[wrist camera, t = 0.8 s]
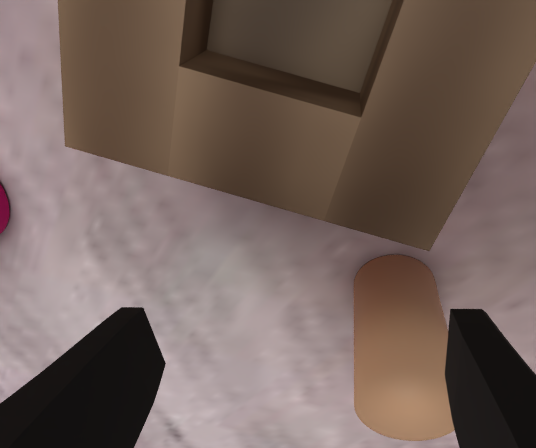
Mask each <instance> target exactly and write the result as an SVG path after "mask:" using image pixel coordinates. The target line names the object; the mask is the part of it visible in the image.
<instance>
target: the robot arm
mask: <svg viewBox="0 0 536 448" xmlns="http://www.w3.org/2000/svg"><path fill="white" fill-rule="evenodd" d="M165 364H166V363H165V361H164V358H163V356H162V353H161V351H160V348H159V346H158V343H157V341H156V338H155V336H154V333H153V331H152V328H151V326H150V323H149V321H148V318H147V316H146V313H145V311H144V308H134V307H122V308H120V309H119V310H117V311H116V312H115V313H113V314H112V315H111V316H110V317H108V318H107V319H106V320H105V321H103V322H102V323H101V324H100V325H98V326H97V327H96V328H95V329H93V330H92V331H91V332H90V333H89V334H87V335H86V336H85V337H84V338H83V339H81V340H80V341H79V342H78V343H77V344H75V345H74V346H73V347H72V348H70V349H69V350H68V351H67V352H66V353H64V354H63V355H62V356H61V357H59V358H58V359H57V360H56V361H55V362H53V363H52V364H51V365H50V366H48V367H47V368H46V369H45V370H43V371H42V372H41V373H40V374H38V375H37V376H36V377H34V378H33V379H32V380H31V381H29V382H28V383H27V384H25V385H24V386H23V387H21V388H20V389H19V390H18V391H16V392H15V393H14V394H12V395H11V396H10V397H8V398H7V399H6V400H4V401H3V402H2V403H1V404H0V448H134V446H135V444H136V442H137V439H138V437H139V435H140V433H141V431H142V428H143V426H144V424H145V422H146V419H147V417H148V415H149V413H150V410H151V408H152V406H153V403H154V400H155V397H156V394H157V391H158V388H159V385H160V381H161V378H162V374H163V371H164V368H165ZM445 380H446V386H447V392H448V399H449V404H450V410H451V416H452V422H453V425H454V429H455V433H456V436H457V440H458V444H459V447H460V448H536V374H535V373H534V372H533V371H532V370H531V369H530V367H529V366H528V365H527V364H526V363H525V361H524V360H523V359H522V358H521V357H520V355H519V354H518V353H517V352H516V350H515V349H514V348H513V347H512V346H511V344H510V343H509V342H508V340H507V339H506V338H505V337H504V335H503V334H502V333H501V332H500V330H499V329H498V328H497V326H496V325H495V324H494V322H493V321H492V320H491V318H490V317H489V316H488V314H487V313H486V312H485V311H483V310H482V309H450V320H449V331H448V342H447V353H446V364H445Z"/></svg>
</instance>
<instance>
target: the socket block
mask: <svg viewBox="0 0 536 448" xmlns="http://www.w3.org/2000/svg"><path fill="white" fill-rule="evenodd" d="M58 14H59V34H60V54H61V74H62V94H63V115H64V135H65V146H66V147H70V148H73V149H77V150H80V151H84V152H87V153H91V154H94V155H97V156H101V157H104V158H108V159H111V160H115V161H118V162H122V163H125V164H129V165H132V166H136V167H139V168H143V169H146V170H149V171H153V172H156V173H160V174H163V175H167V176H170V177H174V178H177V179H181V180H184V181H188V182H191V183H195V184H198V185H201V186H205V187H208V188H212V189H215V190H219V191H222V192H226V193H229V194H233V195H236V196H240V197H243V198H246V199H250V200H253V201H257V202H260V203H264V204H267V205H271V206H274V207H278V208H281V209H285V210H288V211H292V212H295V213H298V214H302V215H305V216H309V217H312V218H316V219H319V220H323V221H326V222H330V223H333V224H337V225H340V226H344V227H347V228H350V229H354V230H357V231H361V232H364V233H368V234H371V235H375V236H378V237H382V238H385V239H389V240H392V241H396V242H399V243H402V244H406V245H409V246H413V247H416V248H420V249H423V250H427V251H430V249H431V247H432V245H433V244H434V242H435V240H436V238H437V236H438V235H439V233H440V231H441V229H442V228H443V226H444V224H445V222H446V220H447V219H448V217H449V215H450V213H451V212H452V210H453V208H454V206H455V204H456V203H457V201H458V199H459V197H460V196H461V194H462V192H463V190H464V188H465V187H466V185H467V183H468V181H469V180H470V178H471V176H472V174H473V172H474V171H475V169H476V167H477V165H478V164H479V162H480V160H481V158H482V156H483V155H484V153H485V151H486V149H487V148H488V146H489V144H490V142H491V140H492V139H493V137H494V135H495V133H496V132H497V130H498V128H499V126H500V124H501V123H502V121H503V119H504V117H505V116H506V114H507V112H508V110H509V108H510V107H511V105H512V103H513V101H514V100H515V98H516V96H517V94H518V92H519V91H520V89H521V87H522V85H523V84H524V82H525V80H526V78H527V76H528V75H529V73H530V71H531V69H532V68H533V66H534V64H535V62H536V0H58Z"/></svg>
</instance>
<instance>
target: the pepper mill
mask: <svg viewBox="0 0 536 448" xmlns="http://www.w3.org/2000/svg"><path fill="white" fill-rule="evenodd" d="M9 216H10V214H9V202H8V199H7V197H6V194H5V191H4V189H3V188H2V186H1V184H0V234H1V233H2V232H3V231H4V229H5V228H6V226H7V223H8V220H9Z"/></svg>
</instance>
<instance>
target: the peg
mask: <svg viewBox="0 0 536 448" xmlns="http://www.w3.org/2000/svg"><path fill="white" fill-rule="evenodd" d="M447 342H448V329H447V325H446V321H445V318H444V314H443V310H442V306H441V302H440V298H439V295H438V291H437V287H436V283H435V279H434V276H433V274H432V272H431V271H430V269H429V268H428V267H427V266H426V265H425V264H423V263H422V262H420V261H419V260H417V259H415V258H412V257H409V256H404V255H386V256H381V257H378V258H375V259H373V260H371V261H369V262H368V263H366V264H365V265H364V266H363V267H362V268H361V269H360V270H359V271H358V273H357V274H356V277H355V279H354V407H355V411H356V414H357V416H358V417H359V419H360V420H361V421H362V422H363V423H364V424H365V425H366V426H367V427H369V428H370V429H372V430H373V431H375V432H377V433H379V434H382V435H384V436H387V437H390V438H394V439H400V440H408V441H422V440H430V439H435V438H439V437H442V436H444V435H447V434H449V433H451V432H453V431H454V430H455V429H454V425H453V422H452V416H451V410H450V404H449V399H448V392H447V386H446V380H445V364H446V353H447Z"/></svg>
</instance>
